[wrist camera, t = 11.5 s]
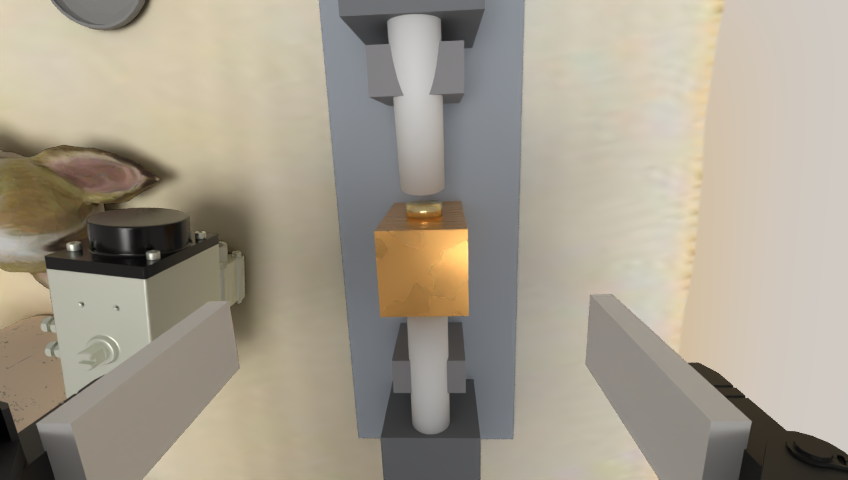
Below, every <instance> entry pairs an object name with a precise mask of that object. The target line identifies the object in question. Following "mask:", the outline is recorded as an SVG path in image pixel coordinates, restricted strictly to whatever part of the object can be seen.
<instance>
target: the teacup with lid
mask: <svg viewBox="0 0 848 480" xmlns="http://www.w3.org/2000/svg"><path fill="white" fill-rule="evenodd" d="M46 317H48V315H41V316H33V317H29V318H26V319H23V320H21V321H19V322H17V323H14V324H12V325H10V326H8V327H5V328H3V329H1V330H0V401H2V402H6V403H8V405H9V408H10V411H11V414H12V417H13V420H14V423H15V426H16V429H17V432H18V433H19V432H20V431H22V430H23V429H24V428H26V427H27V426H29V425H30V424H32V423H33V422H34V421H36V420H37V419H39V418H40V417H42V416H43V415H44V414H46V413H47V412H49V411H50V410H52V409H53V408H54V407H56V406H57V405H59V404H63V403H64V400H66V399H67V398H66V392H65V385H64V379H63V372H62V366H61V360H60V358H59V357H50V356H47V355H46V354H45V348H46V346H47V344H48V343H50V342H51V341H58V340H57V334H56V333H53V332H43V331H42V329H41V322H42V321H43V319H45V318H46ZM52 317H54V316H52Z"/></svg>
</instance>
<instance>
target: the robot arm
mask: <svg viewBox="0 0 848 480" xmlns="http://www.w3.org/2000/svg"><path fill="white" fill-rule="evenodd" d="M586 366H587V367H588V369H589V371H590V372H591V374H592V375H593V377H594V378H595V380H596V382H597V383H598V385H599V386H600V388H601V389H602V391H603V392H604V394H605V396H606V397H607V399H608V400H609V402H610V403H611V405H612V406H613V408H614V410H615V411H616V413H617V414H618V416H619V417H620V419H621V421H622V422H623V424H624V425H625V427H626V428H627V430H628V431H629V433H630V435H631V436H632V438H633V439H634V441H635V442H636V444H637V445H638V447H639V449H640V450H641V452H642V453H643V455H644V456H645V458H646V460H647V461H648V463H649V464H650V466H651V467H652V469H653V470H654V472H655V474H656V475H657V477H658V478H659V480H848V455H847V454H846V453H845V452H843V451H842V450H840V449H838V448H837V447H835V446H833V445H832V444H830V443H828V442H826V441H823V440H821V439H818V438H816V437H814V436H810V435H807V434H803V433H799V432H795V431H786V430H785V429H784V428H783V427H782V426H780V425H779V424H778V423H777V422H776V421H775V420H773V419H772V418H771V417H770V416H768V415H767V414H766V413H765V412H764V411H763V410H762V409H760V408H759V407H758V406H757V405H756V404H754V403H753V402H752V401H751V400H750V399H749V398H745V395H744V394H743V393H741V392H740V391H739V390H738V389H737V388H733V385H732V384H731V383H730V382H728V381H727V380H726V379H725V378H724V377H723V376H721V375H720V374H719V373H717V372H715V371H713V370H712V369H710V368H708V367H706V366H704V365H702V364H700V363H687V362H686V361H685V360H684V359H683V358H681V356H679V355H678V354H677V353H676V352H675V351H674V350H673V349H672V348H671V347H670V346H668V345H667V344H666V343H665V342H664V341H663V340H662V339H661V338H660V337H659V336H658V335H656V334H655V333H654V332H653V331H652V330H651V329H650V328H649V327H648V326H647V325H645V324H644V323H643V322H642V321H641V320H640V319H639V318H638V317H637V316H636V315H634V314H633V313H632V312H631V311H630V310H629V309H628V308H627V307H626V306H625V305H623V304H622V303H621V302H620V301H619V300H618V299H617V298H616V297H615V296H614V295H612V294H604V295H590V306H589V321H588V335H587V349H586ZM239 368H240V366H239V359H238V353H237V347H236V341H235V335H234V329H233V322H232V316H231V310H230V304H229V301H209V302H207V303H206V304H204V305H203V306H202V307H200V308H199V309H197V310H196V311H195V312H193V313H192V314H190V315H189V316H187V317H186V318H185V319H183V320H182V321H180V322H179V323H178V324H176V325H175V326H173V327H172V328H170V329H169V330H168V331H166V332H165V333H163V334H162V335H161V336H159V337H158V338H156V339H155V340H154V341H152V342H151V343H149V344H148V345H146V346H145V347H144V348H142V349H141V350H139V351H138V352H137V353H135V354H134V355H132V356H131V357H129V358H128V359H127V360H125V361H124V362H122V363H121V364H120V365H118V366H117V367H115V368H114V369H113V370H111V371H110V372H108V373H107V374H105V375H103V376H101V377H99V378H97V379H95V380H93V381H92V382H90V383H89V384H87V385H86V386H85V387H83V388H82V389H80V390H79V391H78V393H77V394H73V395H72V396H70V397H69V398H67V399H66V400H64V403H63V404H59V405H57V406H56V407H54V408H53V409H52V410H50V411H49V412H47V413H46V414H44V415H43V416H42V417H40V418H39V419H37V420H36V421H34V422H33V423H32V424H30V425H29V426H27V427H26V428H24V429H23V430H22V431H20V432H19V433H18V432H17V429H16V426H15V423H14V420H13V417H12V414H11V411H10V408H9V405H8V403H6V402H2V401H0V480H142V479H143V478H144V477H145V476H146V475H147V474H148V472H149V471H150V470H151V469H152V468H153V467H154V466H155V464H156V463H157V462H158V461H159V460H160V459H161V457H162V456H163V455H164V454H165V453H166V452H167V451H168V449H169V448H170V447H171V446H172V445H173V444H174V443H175V441H176V440H177V439H178V438H179V437H180V436H181V435H182V433H183V432H184V431H185V430H186V429H187V428H188V426H189V425H190V424H191V423H192V422H193V421H194V420H195V418H196V417H197V416H198V415H199V414H200V413H201V412H202V410H203V409H204V408H205V407H206V406H207V405H208V404H209V402H210V401H211V400H212V399H213V398H214V397H215V396H216V394H217V393H218V392H219V391H220V390H221V389H222V387H223V386H224V385H225V384H226V383H227V382H228V381H229V379H230V378H231V377H232V376H233V375H234V374H235V373H236V371H237V370H238V369H239Z"/></svg>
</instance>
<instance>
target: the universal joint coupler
mask: <svg viewBox="0 0 848 480" xmlns="http://www.w3.org/2000/svg"><path fill="white" fill-rule="evenodd" d="M374 236H375V250H376V264H377V278H378V293H379V307H380V317H429V316H469V292H468V228H467V223H466V219H465V215H464V211H463V206H462V202H461V201H438V200H417V201H410V202H405V203H394V204H393V206H392V207H391V209H390V210H389V211H388V213H387V214H386V216H385V217H384V218H383V220H382V221H381V223H380V224H379V225H378V227H377V228H376V230H375V231H374Z"/></svg>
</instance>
